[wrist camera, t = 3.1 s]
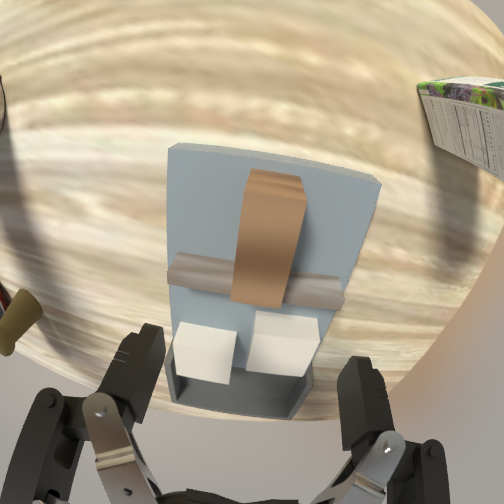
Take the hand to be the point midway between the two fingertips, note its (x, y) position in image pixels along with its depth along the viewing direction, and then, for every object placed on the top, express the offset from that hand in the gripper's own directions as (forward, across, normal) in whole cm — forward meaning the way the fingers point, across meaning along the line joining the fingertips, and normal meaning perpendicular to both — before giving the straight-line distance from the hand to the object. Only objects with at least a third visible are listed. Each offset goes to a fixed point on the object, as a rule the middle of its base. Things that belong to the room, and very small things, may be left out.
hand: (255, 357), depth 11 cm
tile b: (+12, +4, +15) cm, 20 cm away
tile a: (+12, -4, +12) cm, 18 cm away
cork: (+15, +36, +21) cm, 44 cm away
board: (+15, 0, +7) cm, 16 cm away
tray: (+15, 0, +24) cm, 29 cm away
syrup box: (+15, -14, -13) cm, 24 cm away
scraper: (+12, 0, 0) cm, 12 cm away
